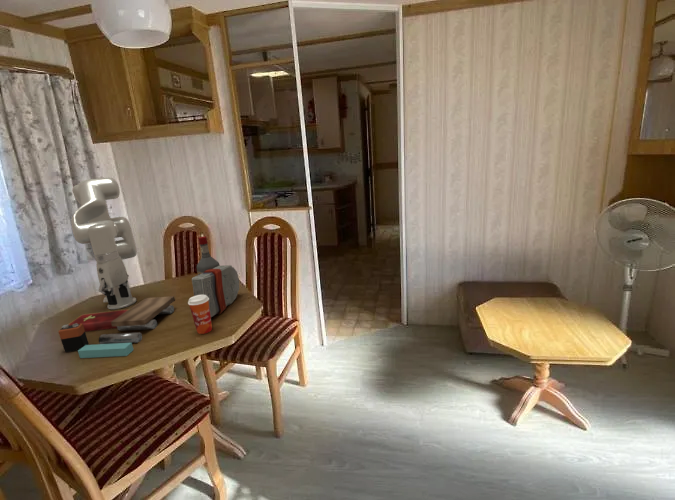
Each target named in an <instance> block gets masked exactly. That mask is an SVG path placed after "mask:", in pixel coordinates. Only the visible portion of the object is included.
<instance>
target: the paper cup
mask: <svg viewBox="0 0 675 500" xmlns="http://www.w3.org/2000/svg"><path fill="white" fill-rule="evenodd" d="M208 300H209V298H208V296H206V295H196V296H194V295H193V296H191V297H189V299H188V301H187V304H188V305H189V310H190V312H191V315H192V319H193V322H194V326H195V329H196V332H197V334H199V335H205V334H209V333H210V332H211V331H212V330H213V325H212V317H211V316H210V309H209V302H208Z"/></svg>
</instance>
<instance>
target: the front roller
mask: <svg viewBox="0 0 675 500" xmlns="http://www.w3.org/2000/svg"><path fill="white" fill-rule="evenodd" d="M157 326H158V322H157V320H156V319H152V320H150V321H149V322H148V323H147V324H145V325H131V326H117V328H116V329H117V330H118V331H119V332H121V331H123V332H124V331H125V332H126V331H140V330H156V328H157Z"/></svg>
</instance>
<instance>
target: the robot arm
mask: <svg viewBox="0 0 675 500" xmlns="http://www.w3.org/2000/svg"><path fill="white" fill-rule="evenodd" d="M120 191H121V190H120V187H119V183H118V181H116V179H115V178H113V177H99V178H92V179H91V178H90V179H85V180H82V181H81V182H79V183H78V184H76V185H74V186H73V187H72V194H73V197H74V198H75V199H76V201H77V202H78V203H79V205H80V207H78V208H77V210H75V212H74V213H73V215H72V218H71V220H70V221H71V229H72V233H73V237H74V239H75V241H76V242H77V243H78V244H82V245H83V244H84V245H86V244H90V245H91V249H92V252H93V255H94V259H95V262H96V274H97V278H98V281H99V287H98V292H100V293H102V294H103V295H104V296H105V297H103V300H102V302H103V303H108V304H107V309H109V310H121V309H125V308H126V307H129V306H132V305H134V304H135V303H137V298H136V297H133V296H132V292H131V288H130V285H129V281H128V280H129V274H128V271H127V269H126V266H125V263H124V261H123V260H128V259H132V258H135V257H136V256H137V254H138V250H137V245H136V241H135V238H134V233H133V231H132V226H131V224H130V221H129V220H128V219H127V218H126V217H125V216H118V217H110V213H109V210H108V204H107V201H109V200H115V199H118V198H119V197H120V194H121V193H120ZM117 238H122V239H118V240H116V239H117Z"/></svg>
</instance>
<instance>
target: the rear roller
mask: <svg viewBox="0 0 675 500" xmlns="http://www.w3.org/2000/svg"><path fill="white" fill-rule="evenodd" d="M174 312H175V306H174V305H173V304H170V305H169V306H167V307H166V308H165V309H164V310H163V311H161V312H160V313H159V314H158V315H172V314H173V313H174Z"/></svg>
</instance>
